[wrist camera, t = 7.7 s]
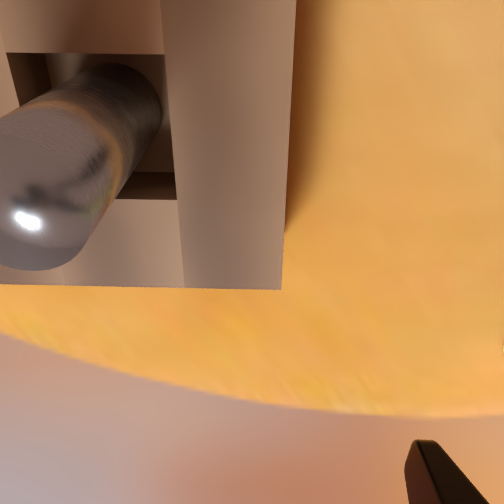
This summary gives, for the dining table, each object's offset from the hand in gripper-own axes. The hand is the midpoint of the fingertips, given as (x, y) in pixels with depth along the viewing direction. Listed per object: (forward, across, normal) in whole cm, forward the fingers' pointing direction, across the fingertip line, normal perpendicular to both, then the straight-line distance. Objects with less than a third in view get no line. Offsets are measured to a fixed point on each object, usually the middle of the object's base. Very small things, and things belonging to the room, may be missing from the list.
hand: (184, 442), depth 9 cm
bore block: (+12, +4, -4) cm, 13 cm away
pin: (+11, +4, -4) cm, 12 cm away
